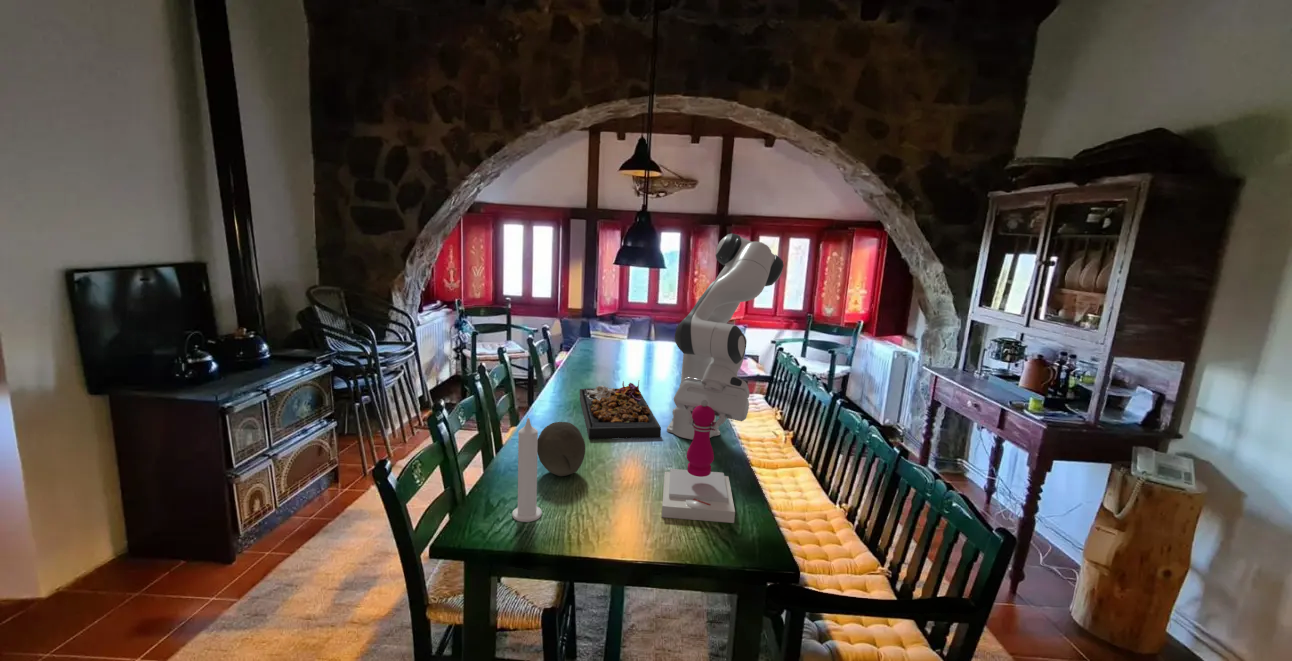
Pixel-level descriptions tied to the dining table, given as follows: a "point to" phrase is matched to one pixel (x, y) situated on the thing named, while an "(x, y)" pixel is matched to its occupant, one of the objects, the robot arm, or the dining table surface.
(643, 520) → the dining table surface
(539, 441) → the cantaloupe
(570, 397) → the dining table surface
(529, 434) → the candle
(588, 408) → the food platter
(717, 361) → the robot arm
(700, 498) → the kitchen scale
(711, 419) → the pepper mill
